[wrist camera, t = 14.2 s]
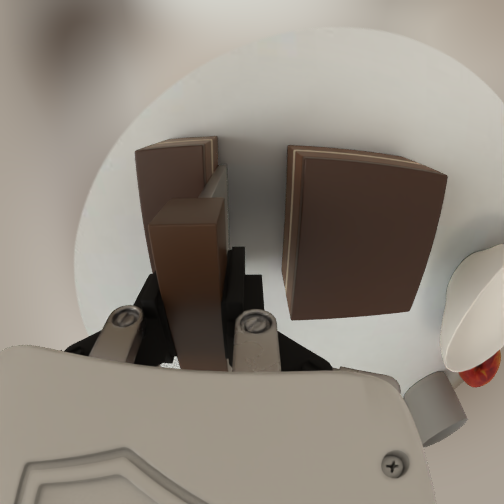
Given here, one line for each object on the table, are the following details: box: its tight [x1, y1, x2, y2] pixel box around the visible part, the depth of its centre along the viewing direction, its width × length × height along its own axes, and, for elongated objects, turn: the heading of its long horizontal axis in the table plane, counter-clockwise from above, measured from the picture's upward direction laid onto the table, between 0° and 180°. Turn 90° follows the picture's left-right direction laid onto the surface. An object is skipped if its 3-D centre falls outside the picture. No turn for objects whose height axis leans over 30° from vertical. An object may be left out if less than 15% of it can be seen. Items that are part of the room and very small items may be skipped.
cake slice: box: [135, 136, 218, 274], centre depth 17 cm, size 4×10×6 cm, turn 0°
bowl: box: [440, 243, 504, 372], centre depth 20 cm, size 16×16×7 cm
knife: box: [148, 165, 232, 372], centre depth 14 cm, size 2×8×12 cm, turn 0°
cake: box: [282, 145, 448, 320], centre depth 17 cm, size 9×10×6 cm
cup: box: [404, 372, 468, 447], centre depth 29 cm, size 8×8×10 cm
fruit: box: [458, 350, 501, 387], centre depth 26 cm, size 8×8×8 cm
